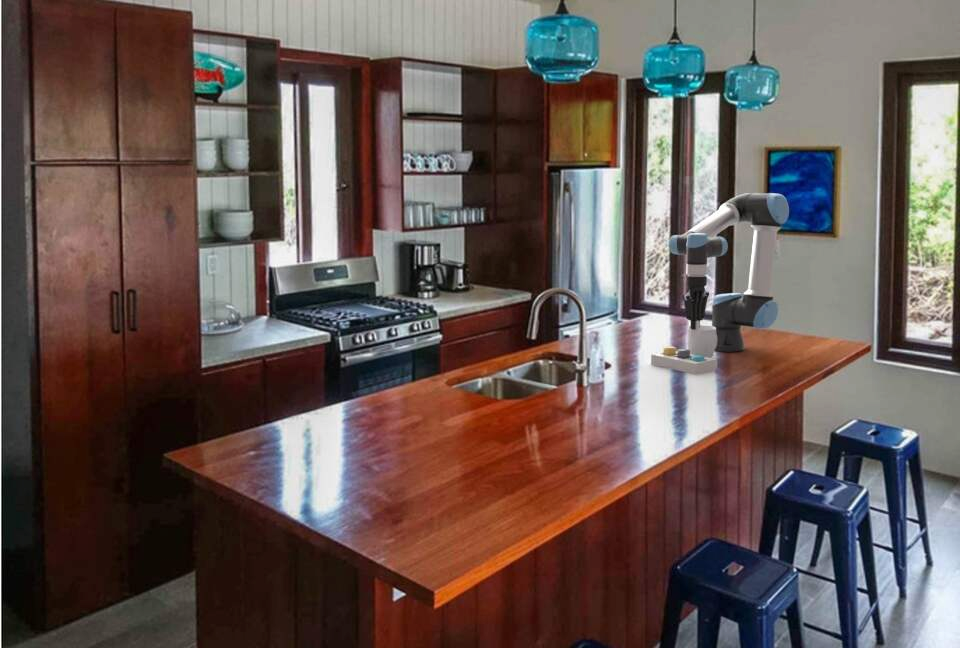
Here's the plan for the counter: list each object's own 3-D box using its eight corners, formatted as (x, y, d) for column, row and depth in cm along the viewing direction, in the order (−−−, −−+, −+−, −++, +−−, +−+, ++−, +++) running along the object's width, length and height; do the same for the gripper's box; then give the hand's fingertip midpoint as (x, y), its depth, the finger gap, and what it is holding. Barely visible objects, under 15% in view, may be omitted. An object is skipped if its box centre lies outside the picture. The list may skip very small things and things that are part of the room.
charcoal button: (682, 358, 343) (683, 348, 343) (692, 360, 340) (692, 350, 339) (674, 360, 341) (674, 350, 340) (684, 362, 337) (684, 352, 336)
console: (672, 360, 353) (672, 350, 352) (716, 369, 335) (716, 359, 335) (651, 364, 346) (651, 354, 345) (695, 374, 328) (695, 363, 328)
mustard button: (669, 355, 349) (669, 345, 348) (678, 357, 345) (678, 347, 344) (660, 357, 346) (660, 347, 345) (670, 359, 342) (670, 349, 342)
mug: (704, 354, 362) (705, 322, 360) (727, 358, 354) (728, 326, 352) (681, 359, 353) (681, 327, 351) (703, 364, 345) (704, 331, 342)
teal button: (697, 364, 338) (697, 354, 337) (707, 367, 334) (707, 356, 334) (688, 366, 335) (688, 356, 335) (698, 368, 331) (698, 358, 331)
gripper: (699, 272, 337) (698, 334, 341) (676, 276, 329) (675, 338, 334) (715, 274, 331) (714, 336, 335) (693, 277, 323) (691, 341, 328)
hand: (695, 337), depth 334 cm, fingers closed
